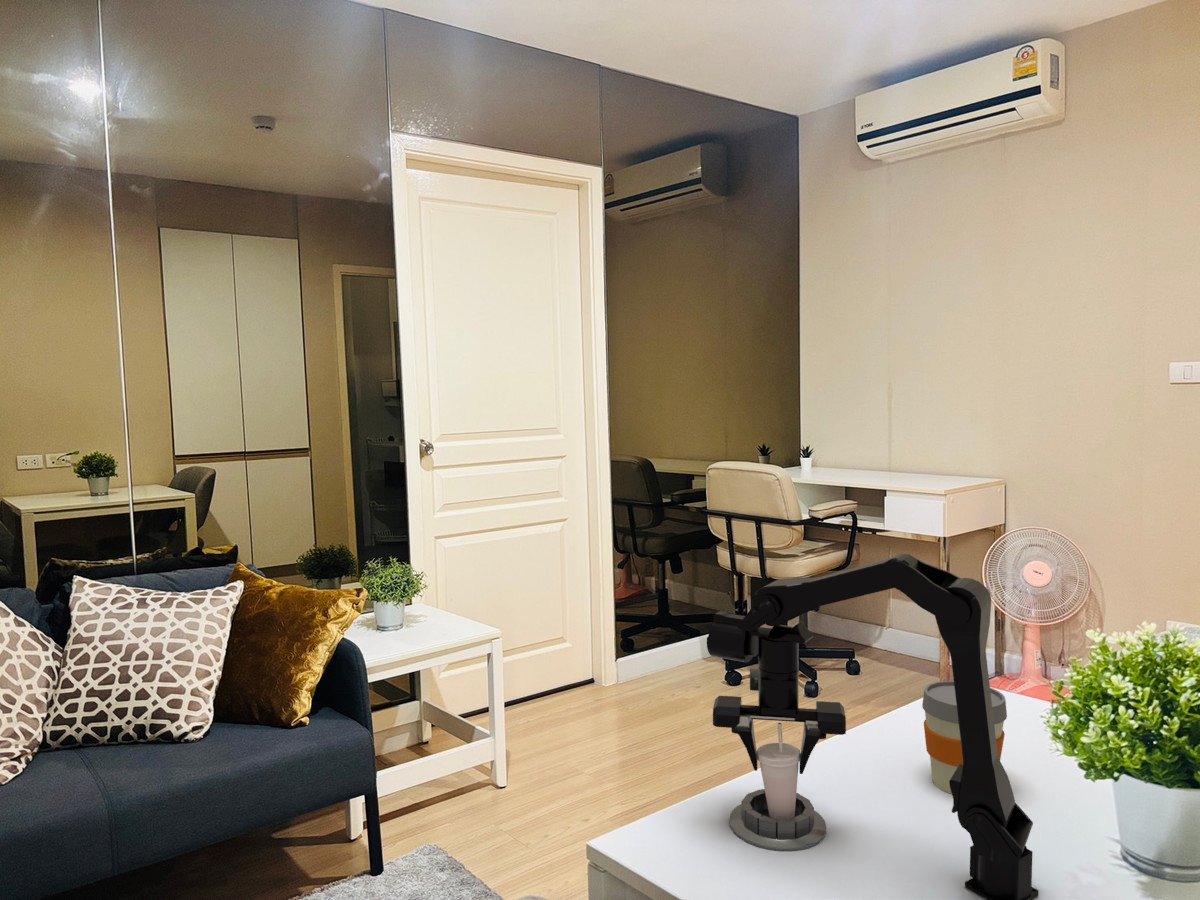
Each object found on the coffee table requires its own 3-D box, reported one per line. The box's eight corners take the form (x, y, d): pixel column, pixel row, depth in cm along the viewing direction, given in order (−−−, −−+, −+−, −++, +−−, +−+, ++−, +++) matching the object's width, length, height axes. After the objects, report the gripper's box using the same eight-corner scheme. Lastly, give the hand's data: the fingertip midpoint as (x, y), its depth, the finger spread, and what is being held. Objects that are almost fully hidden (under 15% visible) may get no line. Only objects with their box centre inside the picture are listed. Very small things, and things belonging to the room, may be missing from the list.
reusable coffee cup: (925, 798, 137) (927, 705, 136) (916, 763, 149) (918, 677, 148) (1012, 806, 134) (1015, 711, 133) (996, 770, 146) (998, 683, 145)
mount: (846, 832, 127) (847, 811, 127) (776, 861, 119) (776, 839, 119) (778, 794, 139) (778, 775, 138) (710, 818, 131) (710, 798, 131)
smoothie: (782, 830, 124) (777, 734, 123) (750, 814, 130) (745, 722, 129) (813, 815, 128) (808, 722, 127) (781, 800, 133) (776, 710, 132)
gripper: (841, 653, 133) (840, 752, 134) (717, 647, 137) (718, 744, 138) (846, 677, 122) (845, 785, 123) (712, 671, 126) (712, 775, 127)
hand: (778, 771), depth 128 cm, fingers closed on smoothie, 6 cm apart
